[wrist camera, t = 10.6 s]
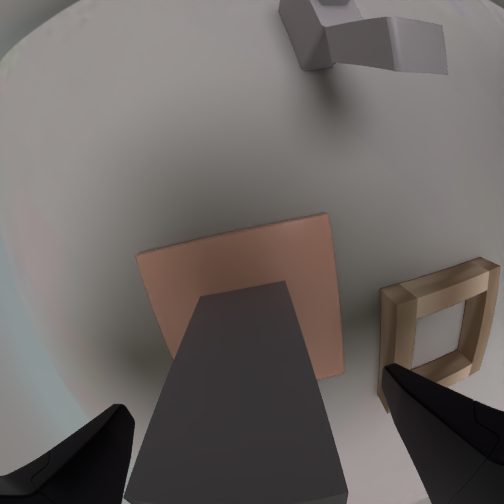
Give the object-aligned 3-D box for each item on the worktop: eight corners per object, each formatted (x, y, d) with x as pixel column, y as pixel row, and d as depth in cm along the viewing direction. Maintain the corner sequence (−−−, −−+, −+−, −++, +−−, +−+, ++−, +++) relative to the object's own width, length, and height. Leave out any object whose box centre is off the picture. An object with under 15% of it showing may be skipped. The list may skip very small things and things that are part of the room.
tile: (324, 212, 12) (328, 214, 12) (341, 367, 15) (344, 373, 14) (139, 252, 13) (135, 255, 12) (192, 392, 15) (191, 399, 14)
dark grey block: (285, 280, 13) (348, 491, 3) (296, 350, 13) (339, 535, 4) (200, 296, 13) (123, 497, 3) (221, 363, 14) (196, 545, 4)
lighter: (277, 8, 10) (297, -102, 2) (309, 6, 10) (348, -97, 2) (319, 127, 11) (412, 63, 4) (353, 122, 11) (466, 69, 4)
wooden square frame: (480, 256, 13) (500, 266, 11) (465, 356, 15) (479, 369, 13) (380, 289, 13) (397, 304, 11) (377, 394, 15) (387, 413, 13)
